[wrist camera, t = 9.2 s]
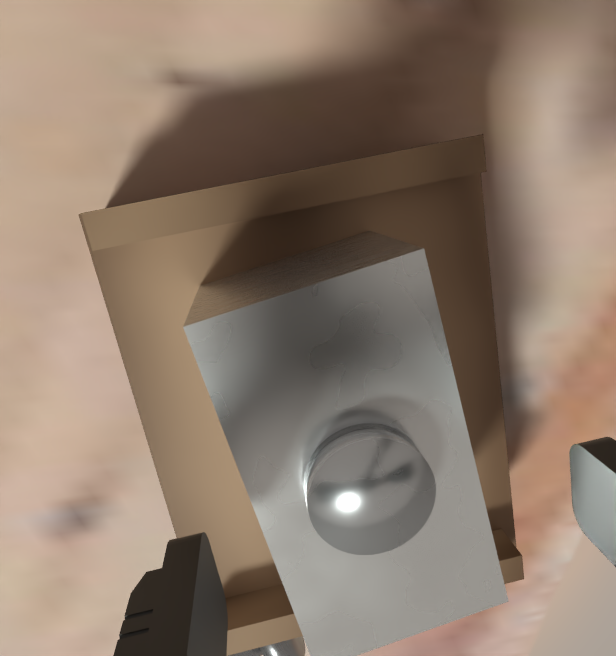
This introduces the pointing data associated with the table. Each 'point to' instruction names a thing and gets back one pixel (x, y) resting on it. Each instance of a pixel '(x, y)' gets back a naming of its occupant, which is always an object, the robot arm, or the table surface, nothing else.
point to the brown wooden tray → (262, 248)
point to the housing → (350, 440)
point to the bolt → (278, 649)
